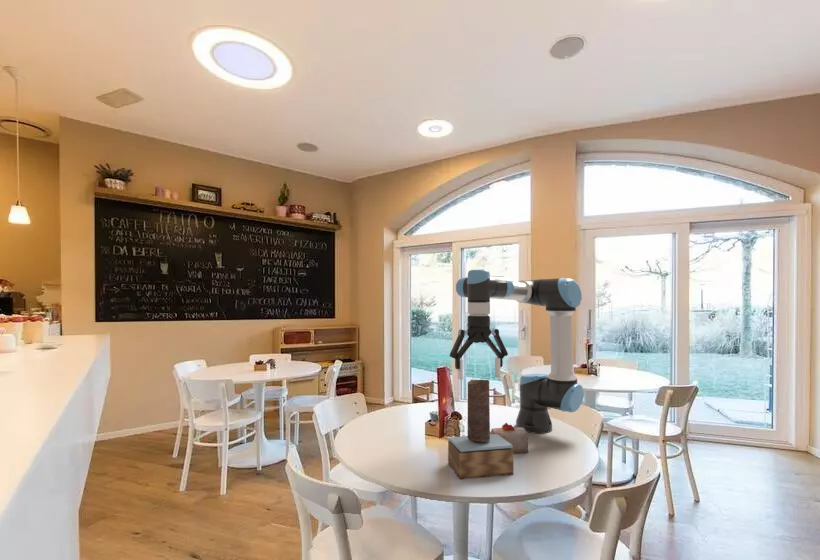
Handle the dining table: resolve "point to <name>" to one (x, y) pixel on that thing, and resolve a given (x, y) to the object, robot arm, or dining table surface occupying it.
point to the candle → (478, 411)
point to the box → (480, 462)
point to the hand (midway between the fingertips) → (479, 378)
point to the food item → (513, 437)
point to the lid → (479, 443)
